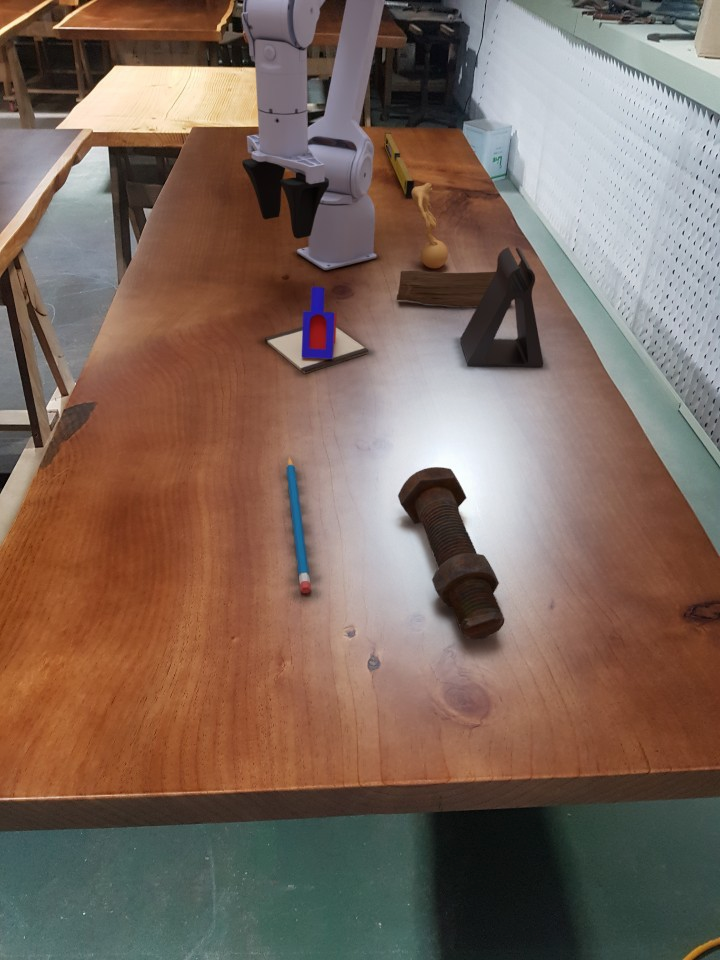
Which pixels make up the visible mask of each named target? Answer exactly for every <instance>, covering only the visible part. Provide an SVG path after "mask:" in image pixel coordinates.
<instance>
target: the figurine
mask: <svg viewBox="0 0 720 960" xmlns="http://www.w3.org/2000/svg"><path fill="white" fill-rule="evenodd" d="M432 186H433V185H432V183H431V182H426V183H424V184H422V185H418V186H414V188H413V190H412V198H411V199H412V200H413V202H414V204H415V206H416V207H417V210H418V212H419V213H420V215H421V217H422V219H423V222H424V223H425V225H426V227H425V229H426V230H425V236H426V238H427V240H428V241H427V242H426V243H424V245H423V246H422V248H421V250H420V259H421V262H422V263H423V265H424V266H426V268H429V269H439V268H441V267H442V266H444V265H445V264H446V262H447V260H448V257H449V251H448V247H447V246H446V244H445V243H444V242H443V241H441V240H438V238H437V237H434V236H433V235H432V233H433V231H434V230H435V229H436V228H437V219H436V217H434V215H433V213H431V211H430V210H432V205H431V204H430V199H431V197H430V192H432V191H433V187H432Z"/></svg>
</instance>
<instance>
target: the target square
mask: <svg viewBox="0 0 720 960" xmlns="http://www.w3.org/2000/svg"><path fill="white" fill-rule="evenodd" d="M302 331H303V326H302V327H299V328H296V329H295V328H294V329H292V330H288V331H285V332H281V333H277V334H274V335H271V336H267V337H265V338H264V342H265V343H267V344H268V346H270V347H271V348H272V349H274V350H275V351H276V352H277V353H278V354H279V355H281V356H282V357H283V358H284V359H286V360H287V361H288V362H290V364H292V365H293V366H294V367H295V368H296V369H298V370H299V371H300V372H301V373H303V374H308V373H311V372H315V371H317V370H320V369H323V368H327V367H329V366H333V365H336V364H339V363H342V362H345V361H348V360H352V359H354V358H357V357H361V356H364V355H367V354H369V349H368V348H366V347H364V346H363V345H361V344H360V343H359V342H357V341H356V340H354V339H353V338H352V337H350V336H349V335H348V334H346V333H345V332H344V331H342V330H341V329H339V328H338V327H336V342H335V343H334V347H333V359H323V358H305V357H302Z"/></svg>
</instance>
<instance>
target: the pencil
mask: <svg viewBox="0 0 720 960" xmlns="http://www.w3.org/2000/svg"><path fill="white" fill-rule="evenodd" d="M286 477H287V484H288V485H287V487H288V494H289V502H290V504H289V505H290V510H291V511H290V512H291V519H292V520H291V521H292V528H293V529H292V530H293V536H294V546H295V554H296V555H295V556H296V561H297V563H296V564H297V573H298V580H299V589H300V592H301V593H302V594H309V593H310V592H311V590H312V587H311V580H310V573H309V564H308V556H307V547H306V541H305V534H304V526H303V519H302V518H303V517H302V510H301V503H300V496H299V495H300V494H299V487H298V480H297V472H296V467H295V465H294V463H293V460H292V458H291V457H290V456H288V459H287V463H286Z"/></svg>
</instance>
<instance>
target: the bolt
mask: <svg viewBox="0 0 720 960" xmlns="http://www.w3.org/2000/svg"><path fill="white" fill-rule="evenodd" d="M397 498H398V500H399V504H400V505H401V507H402V508H403V510H404V511H405V513H406V514H407V516H408V517H409V518H410V520H411V521H412V522H413V524H414V525H417V524H421V525H422V527H423V530H424V533H425V536H426V538H427V541H428V544H429V547H430V550H431V552H432V554H433V558H434V560H435V562H436V563H435V564H436V566H437V570H436V571H435V573H434V574H433V577H432V579H431V581H432V585H433V587H434V591H435V592H436V594H437V595H438V597H439V599H440V600H441V602H442V603H443V604H444V606H445V607H447V608H450V609H452V610H453V613H454V616H455V618H456V621H457V624H458V627H459V629H460V632H461V634H462V636H464V637H466V638H468V639H469V640H481V639H485V638H488V637H490V636H492V635H494V634H496V633H498V632H499V631H500V630H501V629H502V627H503V626H504V624H505V617H504V614H503V612H502V610H501V607H500V606H499V603H498V601H497V599H496V596H495V594H494V593H495V591H496V589H497V588H498V586H499V584H500V582H499V580H498V578H497V574H496V573H495V570H494V569H493V567H492V566H491V563H490V562H489V561H488V559H487V557H486V556H485V555H484V554H481V553H477V551H476V548H475V545H474V544H473V542H472V539H471V536H470V535H469V533H468V530H467V528H466V525H465V523H464V520H463V518H462V515H461V513H460V510H459V509H460V506H461V505H462V504H463V503H464V502H465V500H466V499H467V496H466V493H465V491H464V488H463V487H462V485H461V483H460V481H459V479H458V478H457V476H456V475H455V473H454V471H453V470H452V469H451V468H450V467H449V468H448V467H444V466H443V467H442V466H433V467H427V468H423V469H420V470H418V471H416V472H414V473H413V474H412V475H410V476H409V477H408V478H407V479H406V480H405V482H404V483H403V485H402V486H401V488H400V490H399V491H398V494H397Z"/></svg>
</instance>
